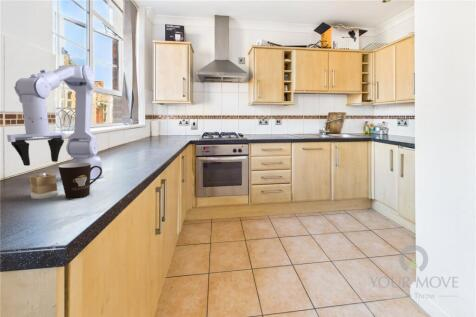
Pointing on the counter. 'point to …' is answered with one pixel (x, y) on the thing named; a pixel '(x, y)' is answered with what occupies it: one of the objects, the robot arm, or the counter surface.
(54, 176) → the hollow wooden cube
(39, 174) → the silver metal cylinder
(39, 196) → the lacing stand
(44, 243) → the counter surface
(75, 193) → the coffee mug
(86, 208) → the counter surface
